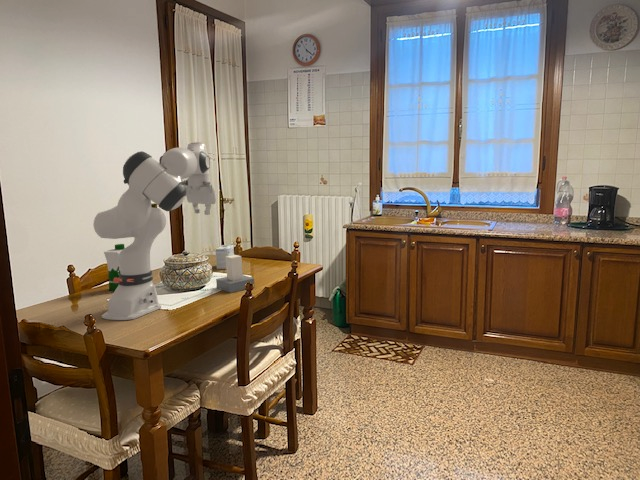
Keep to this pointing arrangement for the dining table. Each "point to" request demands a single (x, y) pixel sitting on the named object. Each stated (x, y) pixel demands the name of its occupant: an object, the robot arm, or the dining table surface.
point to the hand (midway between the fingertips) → (202, 214)
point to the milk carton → (113, 265)
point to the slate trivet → (233, 284)
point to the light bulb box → (223, 255)
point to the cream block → (234, 267)
